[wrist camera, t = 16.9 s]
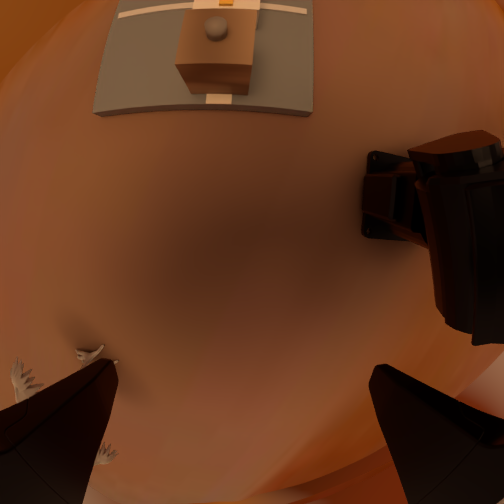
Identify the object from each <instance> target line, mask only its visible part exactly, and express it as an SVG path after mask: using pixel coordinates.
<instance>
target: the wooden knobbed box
mask: <svg viewBox="0 0 504 504" xmlns="http://www.w3.org/2000/svg"><path fill="white" fill-rule="evenodd" d="M256 17H257V10H251V9H227V8H211V9H187V10H185V14H184V18H183V23H182V27H181V32H180V37H179V42H178V48H177V53H176V59H175V66H176V68H177V69H178V71H179V73H180V75H181V77H182V78H183V80H184V82H185V84H186V86H187V87H188V89H189V91H190V93H191V94H232V95H248V91H249V84H250V77H251V70H252V62H253V50H254V39H255V28H256Z"/></svg>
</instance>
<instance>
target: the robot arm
mask: <svg viewBox="0 0 504 504" xmlns="http://www.w3.org/2000/svg"><path fill="white" fill-rule="evenodd" d="M407 151H408V154H409V157H410V159H409V158H405V157H401V156H397V155H393V154H389V153H384V152H380V151H371V152H370V153H369V154H368V163H367V175H366V176H365V178H364V190H363V201H362V210H363V221H362V229H361V233H362V235H363V236H364V237H367V238H374V239H387V240H400V241H411V242H413V243H415V244H418V245H420V246H422V247H425V248H427V249H429V254H430V261H431V268H432V276H433V285H434V296H435V302H436V307H437V308H438V310H439V311H440V313H441V314H442V316H443V317H444V318H445V323H446V324H447V325H449V326H450V327H452V328H454V329H455V330H458V331H461V332H464V333H468V334H472V341H471V343H472V345H473V346H478V345H484V344H490V343H496V344H504V148H502V146H501V142H500V139H499V138H497V137H495V136H494V135H492V134H490V133H488V132H486V131H484V130H477V131H470V132H463V133H457V134H453V135H450V136H447V137H444V138H441V139H438V140H435V141H432V142H429V143H426V144H423V145H420V146H417V147H414V148H411V149H408V150H407ZM373 155H376V158H377V159H376V160H374V159H373ZM368 228H370V232H369V233H368V234H367V232H366V231H367V229H368ZM117 386H118V376H117V372H116V368H115V365H114V362H113V361H112V360H111V359H106V358H101V359H99V360H97V361H95V362H93V363H92V364H90V365H88V366H86V367H84V368H82V369H81V370H79V371H77V372H75V373H73V374H71V375H70V376H68V377H66V378H64V379H62V380H60V381H59V382H57V383H55V384H53V385H51V386H49V387H47V388H45V389H44V390H42V391H40V392H38V393H36V394H34V395H32V396H30V397H29V399H28V398H26V399H25V400H23V401H21V402H19V403H17V404H15V405H13V406H11V407H8V408H6V409H4V410H1V411H0V504H82V503H83V499H84V496H85V492H86V489H87V485H88V482H89V479H90V475H91V472H92V469H93V466H94V462H95V459H96V456H97V453H98V450H99V447H100V444H101V441H102V438H103V436H104V433H105V430H106V427H107V424H108V421H109V418H110V415H111V410H112V406H113V402H114V398H115V394H116V390H117ZM369 390H370V394H371V397H372V401H373V405H374V408H375V412H376V416H377V419H378V422H379V425H380V427H381V430H382V432H383V435H384V438H385V440H386V443H387V445H388V448H389V451H390V453H391V456H392V459H393V461H394V464H395V467H396V469H397V472H398V475H399V478H400V481H401V484H402V487H403V489H404V492H405V495H406V498H407V501H408V504H504V419H502V418H498V417H496V416H493V415H490V414H487V413H485V412H482V411H480V410H477V409H475V408H473V407H470V406H468V405H466V404H464V403H462V402H459V401H458V400H456V399H454V398H452V397H450V396H448V395H446V394H444V393H442V392H440V391H438V390H436V389H434V388H432V387H430V386H428V385H426V384H424V383H422V382H420V381H418V380H416V379H414V378H413V377H411V376H409V375H407V374H405V373H403V372H401V371H399V370H397V369H395V368H394V367H392V366H390V365H388V364H379V365H376V366H375V368H374V370H373V373H372V375H371V378H370V381H369Z"/></svg>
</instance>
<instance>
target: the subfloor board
mask: <svg viewBox="0 0 504 504" xmlns="http://www.w3.org/2000/svg"><path fill="white" fill-rule="evenodd" d="M193 3H194V0H120V1H119V4H118V7H117V9H116V12H115V15H114V18H113V21H112V25H111V28H110V31H109V35H108V38H107V42H106V46H105V50H104V54H103V58H102V62H101V67H100V71H99V76H98V81H97V87H96V92H95V99H94V105H93V112H92V113H94V114H96V115H99V116H101V117H103V116H110V115H118V114H127V113H137V112H149V111H165V110H240V111H256V112H269V113H279V114H288V115H297V116H304V117H307V116H309V115H310V114H311V113H312V112H313V66H314V52H313V6H312V0H260V10H259V17H258V23H257V29H255V39H254V50H253V62H252V70H251V77H250V84H249V91H248V95H232V94H191V93H190V91H189V89H188V87H187V86H186V84H185V82H184V80H183V78H182V77H181V75H180V73H179V71H178V69H177V68H176V66H175V59H176V53H177V48H178V42H179V37H180V32H181V27H182V23H183V18H184V14H185V10H187V9H192V8H193Z"/></svg>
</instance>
